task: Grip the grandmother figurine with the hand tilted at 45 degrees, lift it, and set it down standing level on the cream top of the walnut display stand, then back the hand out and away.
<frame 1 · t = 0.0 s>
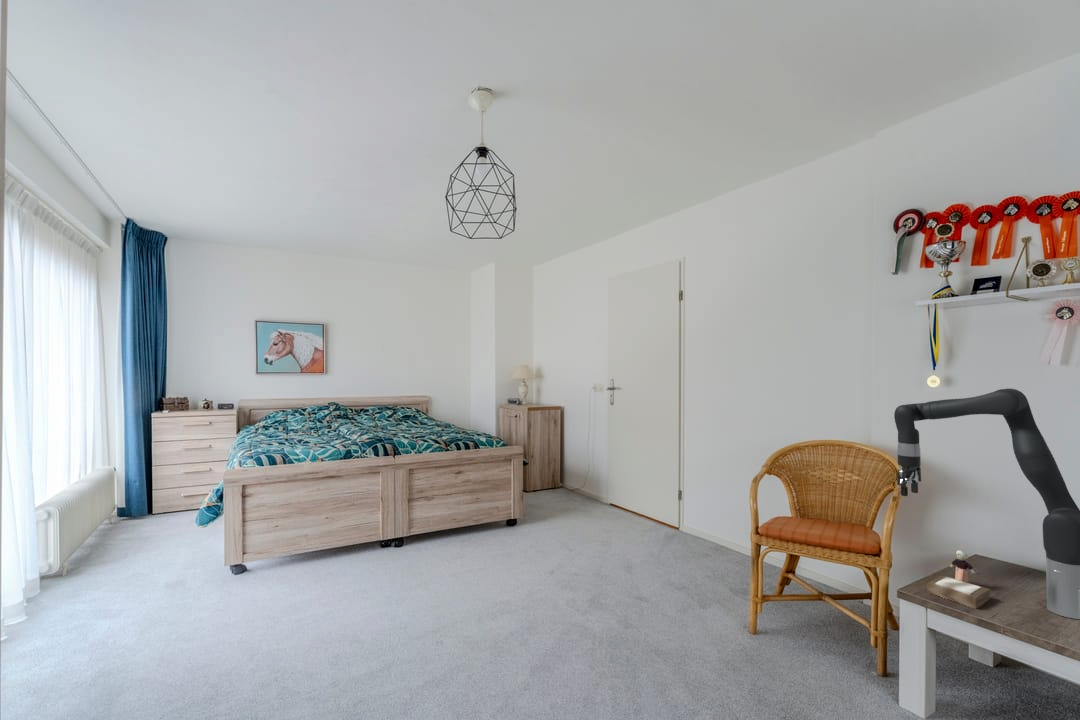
hand: (909, 494, 208), 29 cm above the table, tool pointing down, fingers open, 8 cm apart
grandmother figurine: (962, 585, 191), on the table
display stand: (958, 596, 182), on the table
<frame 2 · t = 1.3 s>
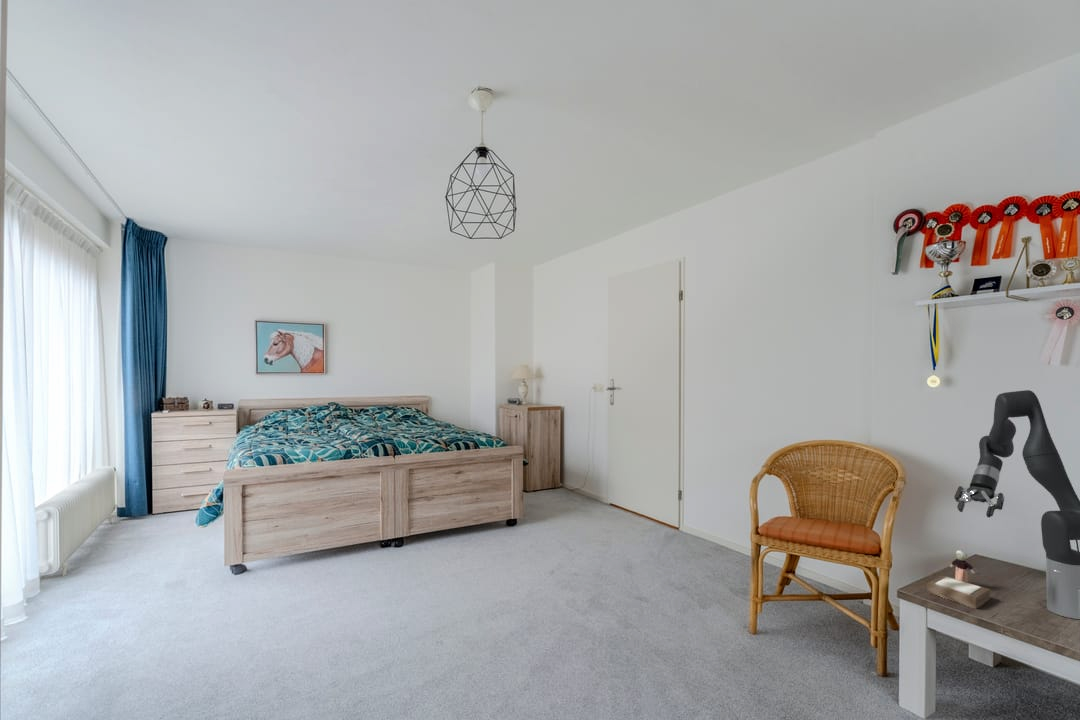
hand: (973, 513, 197), 24 cm above the table, tool tilted 45°, fingers open, 8 cm apart
nothing on the table moved.
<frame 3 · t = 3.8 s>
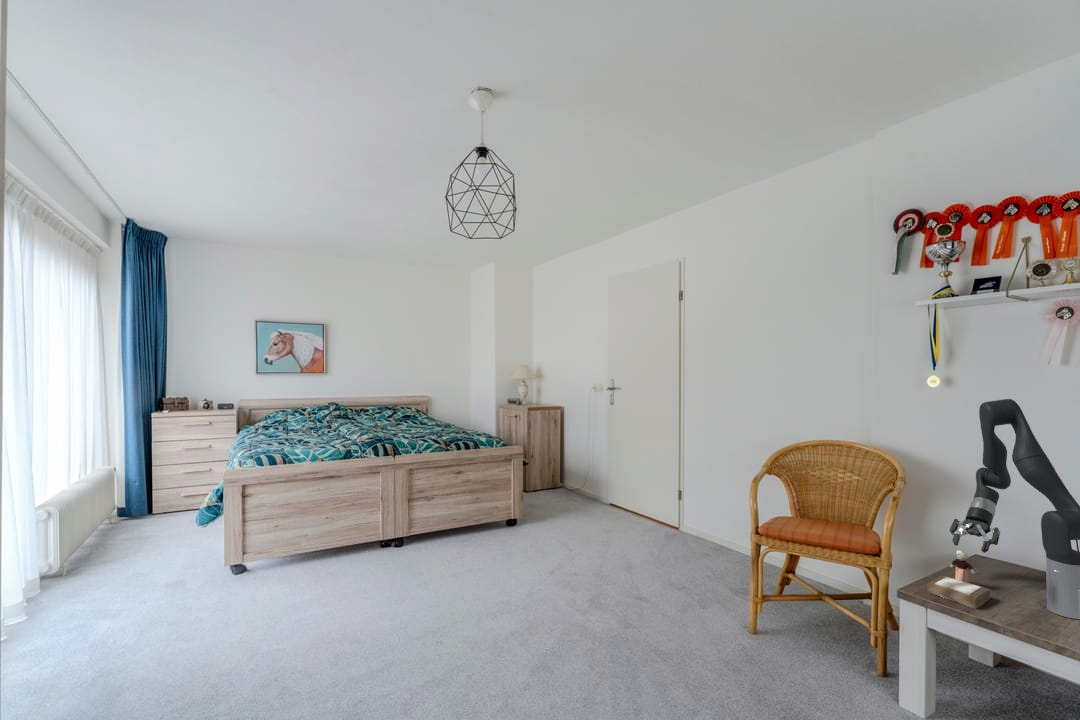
hand: (969, 547, 194), 12 cm above the table, tool tilted 45°, fingers open, 8 cm apart
nothing on the table moved.
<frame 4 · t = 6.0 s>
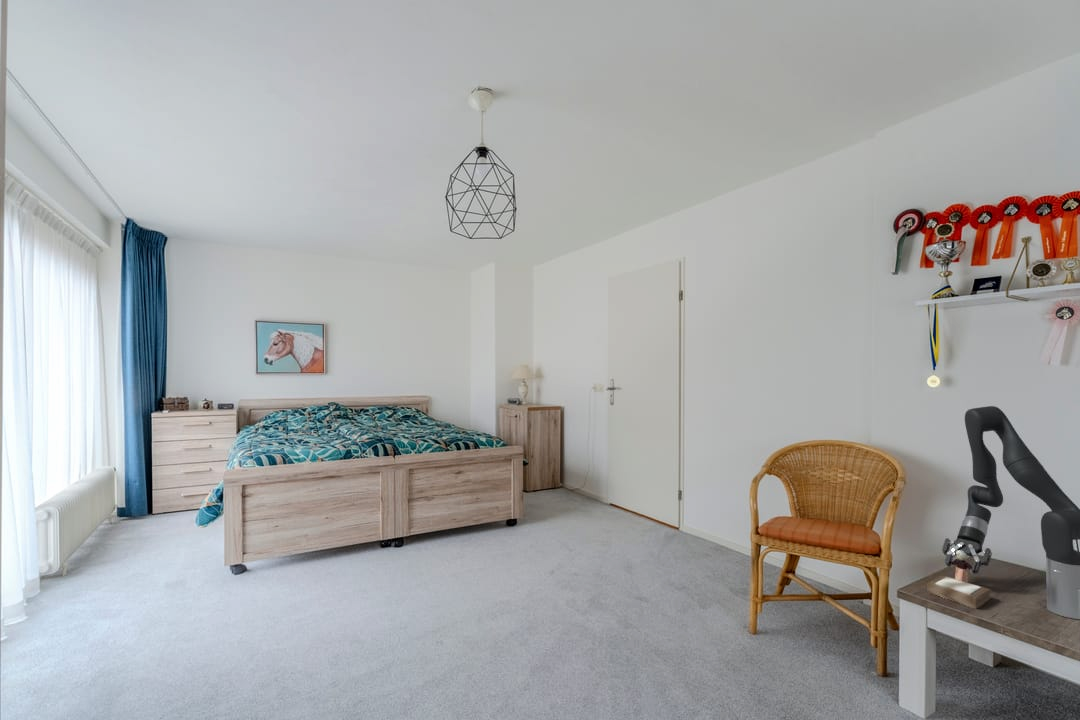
hand: (960, 568, 190), 6 cm above the table, tool tilted 45°, fingers closed on grandmother figurine, 7 cm apart
grandmother figurine: (962, 585, 191), on the table, touching gripper
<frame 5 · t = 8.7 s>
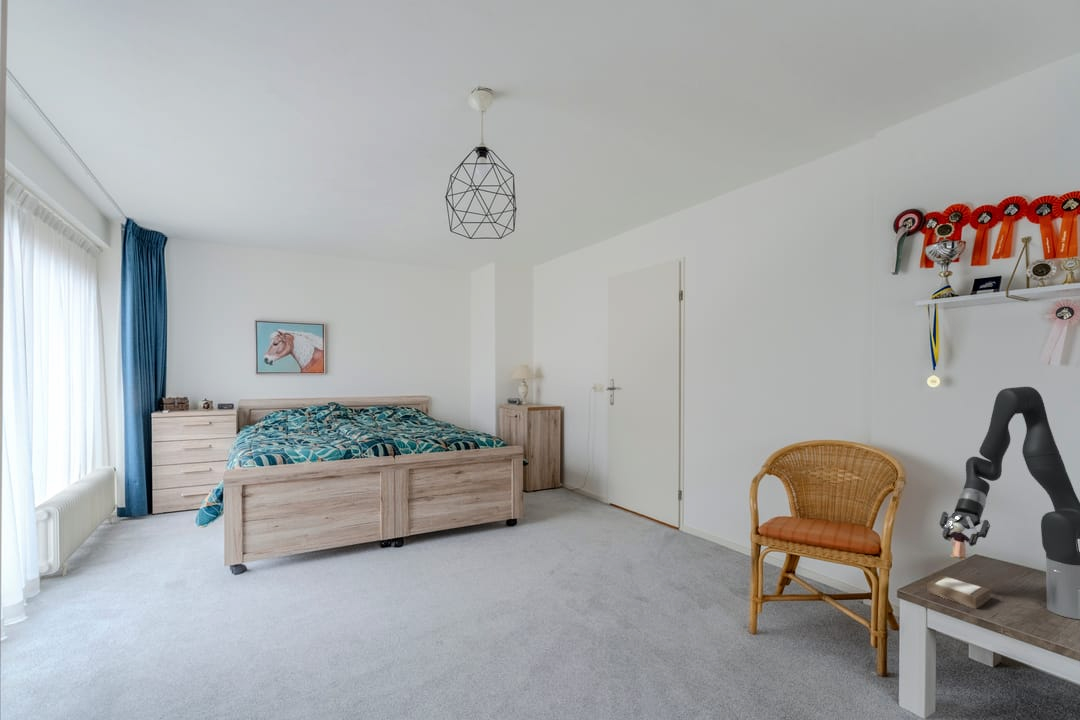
hand: (957, 541, 185), 18 cm above the table, tool tilted 45°, fingers closed on grandmother figurine, 7 cm apart
grandmother figurine: (960, 558, 186), point 12 cm above the table, touching gripper
when the fingers open (12 cm above the table, at t = 11.7 s): grandmother figurine drops 1 cm, resting on display stand.
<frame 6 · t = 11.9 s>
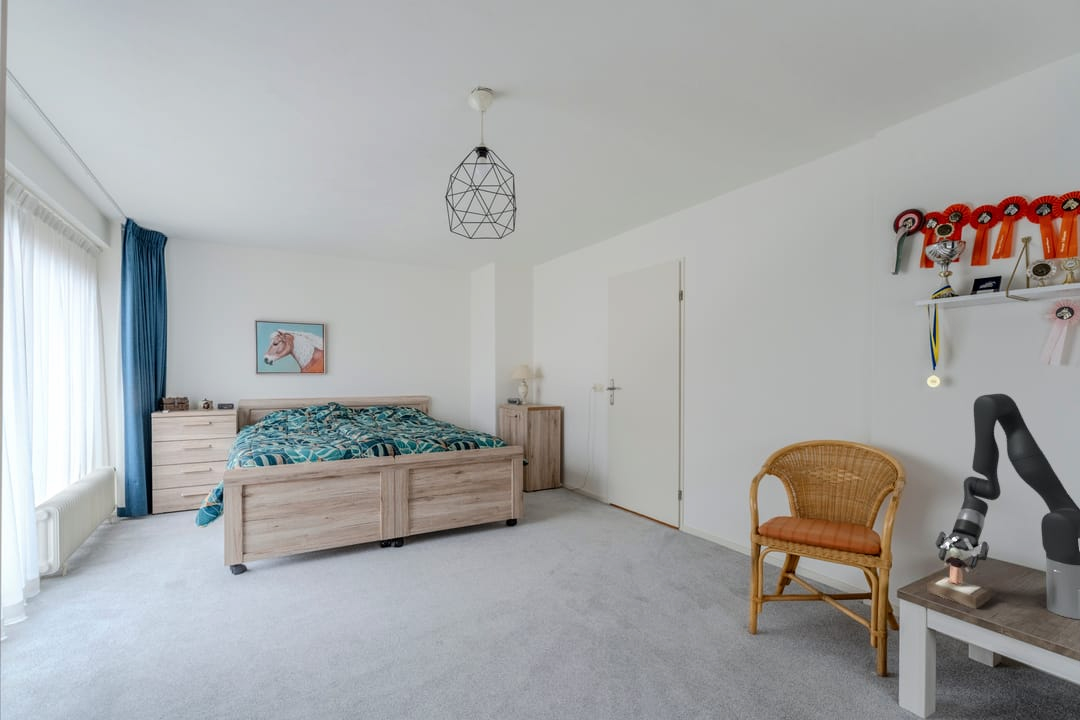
hand: (955, 563, 181), 12 cm above the table, tool tilted 45°, fingers open, 8 cm apart
grandmother figurine: (957, 584, 182), point 4 cm above the table, touching display stand
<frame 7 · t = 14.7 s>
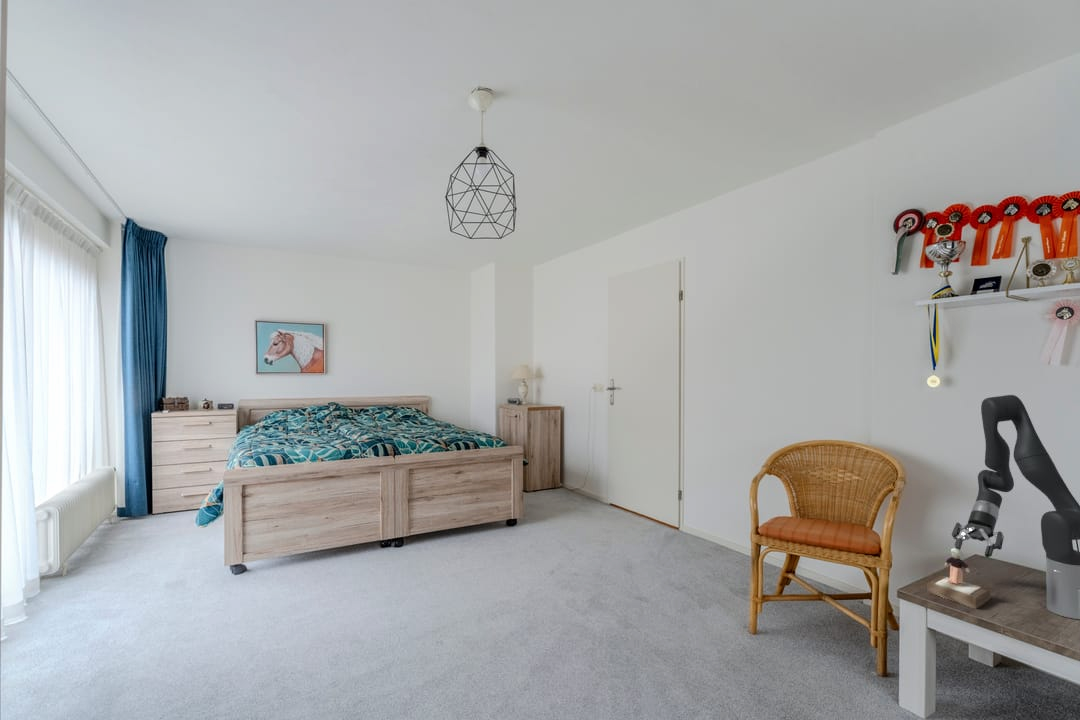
hand: (971, 552, 189), 13 cm above the table, tool tilted 45°, fingers open, 8 cm apart
nothing on the table moved.
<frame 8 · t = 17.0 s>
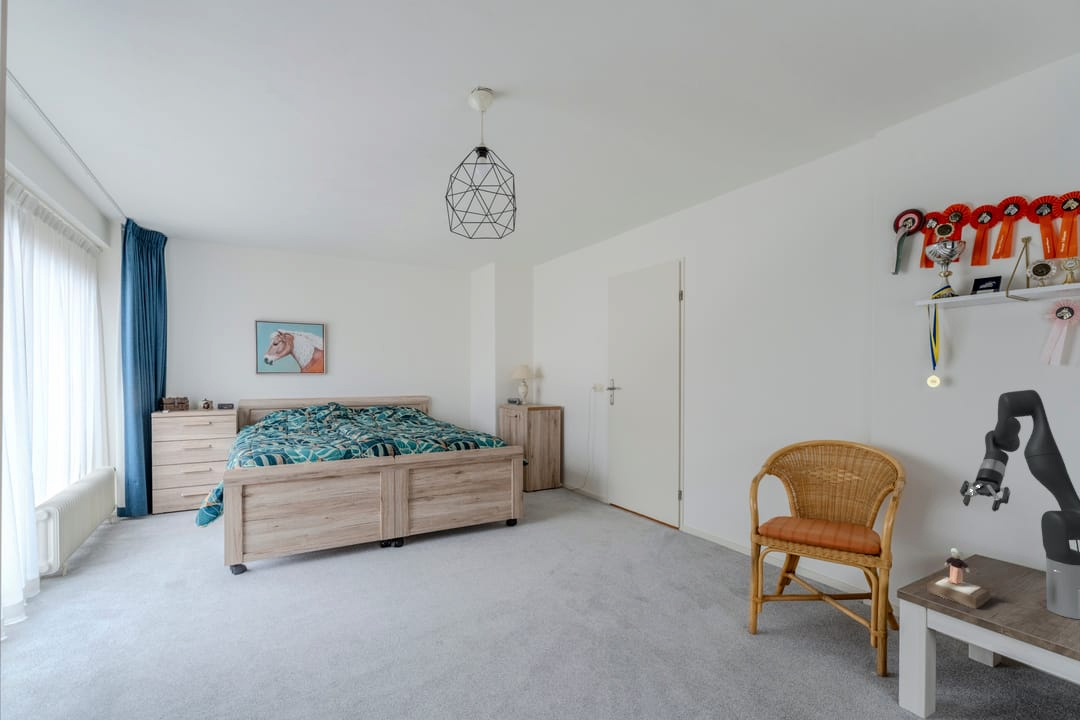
hand: (979, 507, 197), 27 cm above the table, tool tilted 45°, fingers open, 8 cm apart
nothing on the table moved.
at the end: grandmother figurine inside the target area on the display stand (0.4 cm from its centre), point 3.8 cm above the display stand's base; grandmother figurine tilted 0°; the gripper is holding nothing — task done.
